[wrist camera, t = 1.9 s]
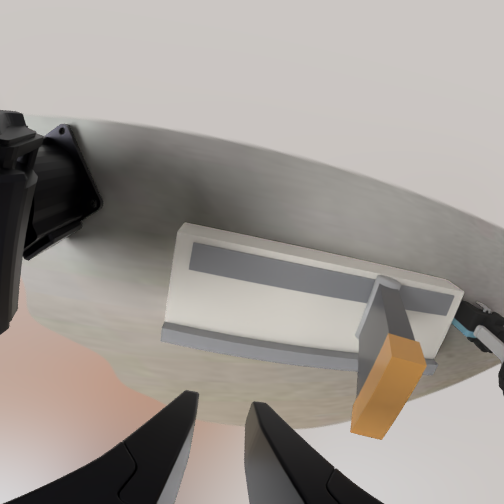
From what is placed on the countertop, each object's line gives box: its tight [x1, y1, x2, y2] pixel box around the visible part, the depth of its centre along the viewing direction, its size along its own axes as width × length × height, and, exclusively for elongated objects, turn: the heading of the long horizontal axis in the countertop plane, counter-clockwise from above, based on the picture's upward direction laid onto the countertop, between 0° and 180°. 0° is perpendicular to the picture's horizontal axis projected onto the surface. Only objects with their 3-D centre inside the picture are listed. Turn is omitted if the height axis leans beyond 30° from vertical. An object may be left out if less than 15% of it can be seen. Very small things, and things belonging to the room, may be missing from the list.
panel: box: [161, 222, 464, 375], centre depth 21 cm, size 20×7×3 cm, turn 77°
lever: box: [350, 275, 427, 440], centre depth 15 cm, size 2×4×10 cm, turn 166°
